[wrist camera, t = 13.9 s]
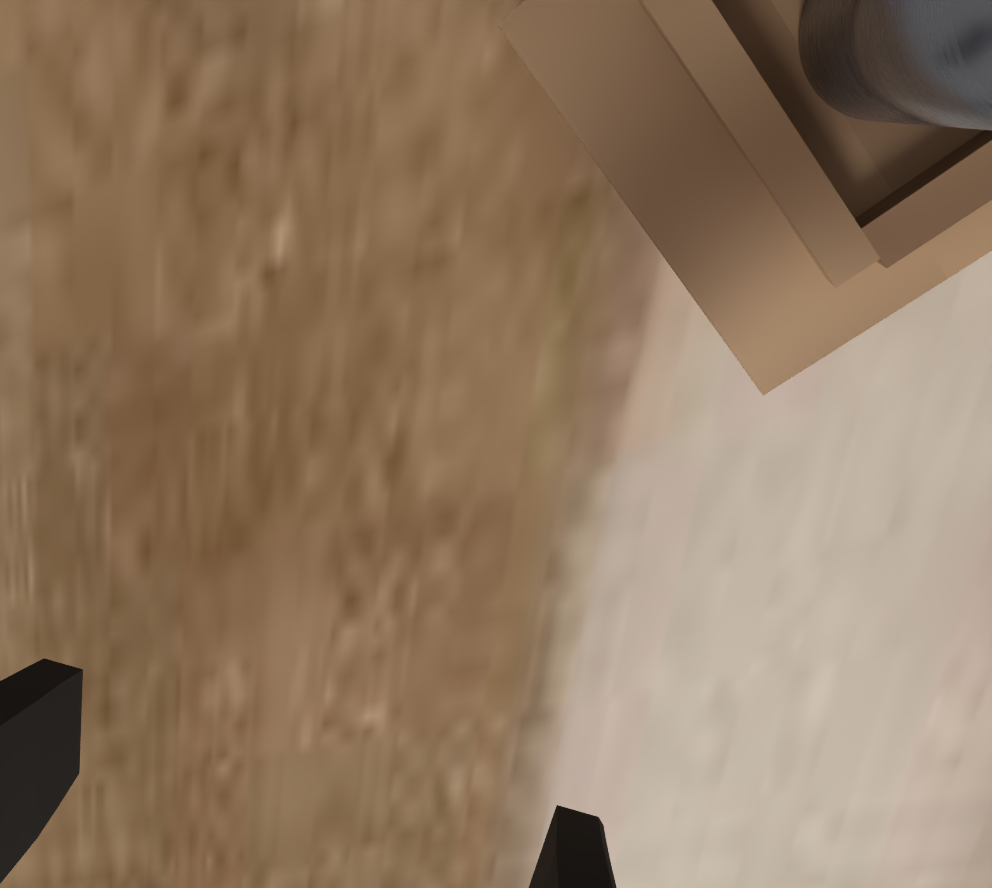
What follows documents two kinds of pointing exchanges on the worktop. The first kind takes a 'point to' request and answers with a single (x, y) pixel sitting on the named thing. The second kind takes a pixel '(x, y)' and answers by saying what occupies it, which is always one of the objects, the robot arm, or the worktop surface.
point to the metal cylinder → (901, 59)
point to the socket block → (758, 170)
